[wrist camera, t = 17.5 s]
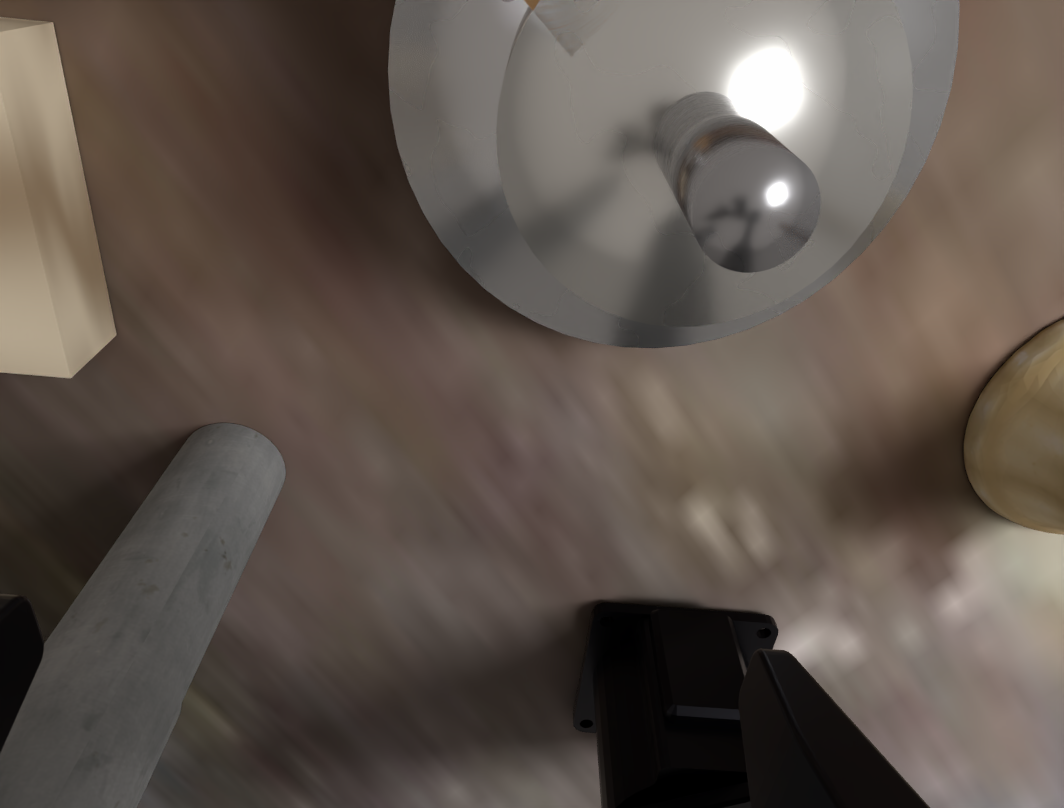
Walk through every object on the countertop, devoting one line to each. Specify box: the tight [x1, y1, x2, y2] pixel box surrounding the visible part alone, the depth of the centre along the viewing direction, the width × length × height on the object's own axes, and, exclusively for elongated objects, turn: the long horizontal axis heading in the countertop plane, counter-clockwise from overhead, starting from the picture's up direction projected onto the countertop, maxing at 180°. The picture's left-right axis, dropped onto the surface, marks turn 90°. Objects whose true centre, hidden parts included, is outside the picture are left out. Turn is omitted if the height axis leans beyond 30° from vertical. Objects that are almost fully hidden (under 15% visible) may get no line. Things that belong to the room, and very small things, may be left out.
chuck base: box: [388, 0, 959, 348], centre depth 18 cm, size 12×12×2 cm
